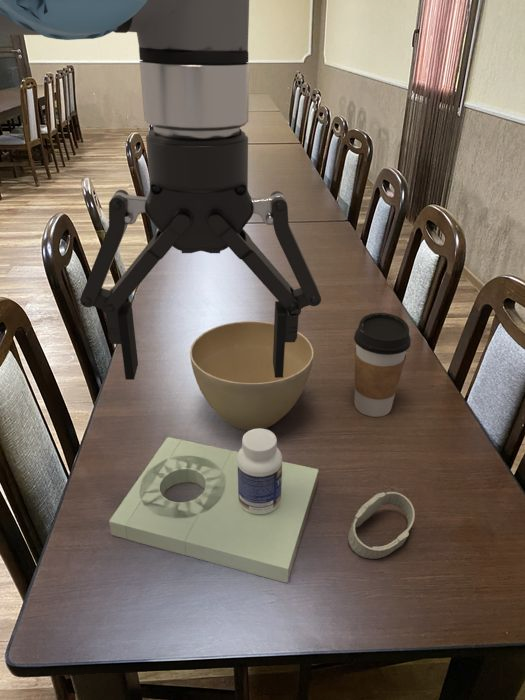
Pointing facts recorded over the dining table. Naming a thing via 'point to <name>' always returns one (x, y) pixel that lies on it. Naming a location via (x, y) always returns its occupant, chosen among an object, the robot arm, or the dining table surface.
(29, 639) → the dining table surface
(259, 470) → the pill bottle
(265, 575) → the pale green flat block
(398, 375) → the coffee cup
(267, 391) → the tan round bowl
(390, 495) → the wristwatch
